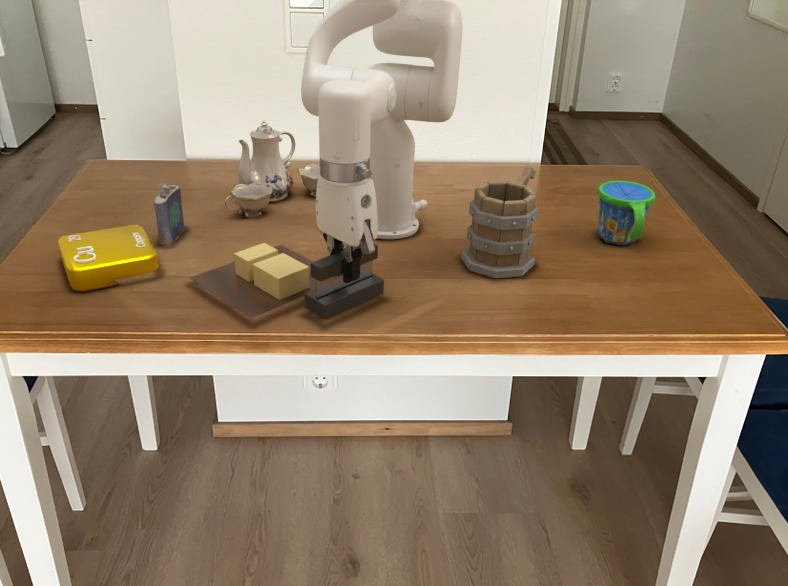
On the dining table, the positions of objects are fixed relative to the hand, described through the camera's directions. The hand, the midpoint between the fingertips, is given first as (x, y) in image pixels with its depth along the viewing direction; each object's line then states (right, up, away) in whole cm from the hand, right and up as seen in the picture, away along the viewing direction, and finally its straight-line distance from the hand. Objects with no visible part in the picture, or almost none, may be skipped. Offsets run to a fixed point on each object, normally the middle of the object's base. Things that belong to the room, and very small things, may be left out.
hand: (345, 276), depth 126 cm
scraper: (0, -5, +3) cm, 6 cm away
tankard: (+29, +6, +21) cm, 37 cm away
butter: (-11, -1, +6) cm, 12 cm away
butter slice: (-16, +2, +10) cm, 19 cm away
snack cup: (+53, +10, +29) cm, 61 cm away
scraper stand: (0, -5, +3) cm, 6 cm away
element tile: (-43, +3, +13) cm, 45 cm away
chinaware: (-17, +21, +41) cm, 49 cm away
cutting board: (-14, -1, +9) cm, 16 cm away
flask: (-35, +10, +24) cm, 43 cm away
